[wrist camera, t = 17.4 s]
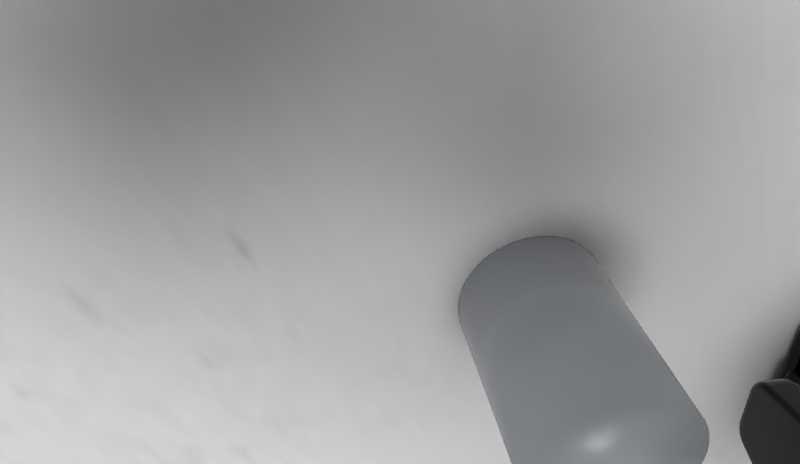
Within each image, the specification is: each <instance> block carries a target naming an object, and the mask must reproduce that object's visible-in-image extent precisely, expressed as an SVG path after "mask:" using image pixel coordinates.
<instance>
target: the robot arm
mask: <svg viewBox="0 0 800 464" xmlns="http://www.w3.org/2000/svg"><path fill="white" fill-rule="evenodd" d="M739 429H740V436H741V439H742V442H743V444H744V447H745V449H746V451H747V453H748V455H749V457H750V460H751V462H752V464H800V333H799V335H798V338H797V340H796V343H795V346H794V348H793V351H792V354H791V356H790V359H789V362H788V364H787V367H786V370H785V373H784V375H783V378H782V379H774V380H768V381H761V382H758V383H756V384H755V385H754V386H753V387H752V389H751V391H750V394H749V397H748V400H747V403H746V406H745V409H744V412H743V414H742V417H741V420H740V428H739Z"/></svg>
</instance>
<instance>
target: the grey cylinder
mask: <svg viewBox="0 0 800 464" xmlns="http://www.w3.org/2000/svg"><path fill="white" fill-rule="evenodd" d="M458 316H459V320H460V323H461V326H462V329H463V332H464V334H465V337H466V340H467V342H468V345H469V348H470V351H471V353H472V356H473V359H474V362H475V364H476V367H477V370H478V372H479V375H480V378H481V381H482V383H483V386H484V389H485V392H486V394H487V397H488V400H489V402H490V405H491V408H492V411H493V413H494V416H495V419H496V422H497V424H498V427H499V430H500V433H501V435H502V438H503V441H504V443H505V446H506V449H507V452H508V454H509V457H510V460H511V463H512V464H702V462H703V460H704V458H705V456H706V453H707V450H708V445H709V431H708V427H707V424H706V422H705V420H704V418H703V417H702V415H701V414H700V413H699V411H698V410H697V408H696V407H695V405H694V404H693V402H692V401H691V399H690V398H689V396H688V395H687V393H686V392H685V391H684V389H683V388H682V386H681V385H680V383H679V382H678V380H677V379H676V377H675V376H674V374H673V373H672V371H671V370H670V368H669V367H668V366H667V364H666V363H665V361H664V360H663V358H662V357H661V355H660V354H659V352H658V351H657V349H656V348H655V346H654V345H653V344H652V342H651V341H650V339H649V338H648V336H647V335H646V333H645V332H644V330H643V329H642V327H641V326H640V324H639V323H638V321H637V320H636V319H635V317H634V316H633V314H632V313H631V311H630V310H629V308H628V307H627V305H626V304H625V302H624V301H623V299H622V298H621V296H620V295H619V294H618V292H617V291H616V289H615V288H614V286H613V285H612V283H611V282H610V280H609V279H608V277H607V276H606V274H605V273H604V272H603V270H602V269H601V267H600V266H599V264H598V263H597V261H596V260H595V258H594V257H593V255H592V254H591V253H590V252H589V251H588V250H587V249H586V248H584V247H583V246H581V245H580V244H578V243H576V242H574V241H572V240H568V239H565V238H561V237H555V236H539V237H531V238H526V239H522V240H519V241H516V242H513V243H511V244H508V245H506V246H504V247H502V248H500V249H498V250H497V251H495V252H494V253H492V254H491V255H489V256H488V257H487V258H485V259H484V260H483V261H482V262H481V263H480V264H479V265H478V266H477V267H476V268H475V269H474V270H473V271H472V273H471V274H470V275H469V277H468V278H467V280H466V282H465V283H464V286H463V288H462V290H461V293H460V297H459V302H458Z"/></svg>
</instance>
